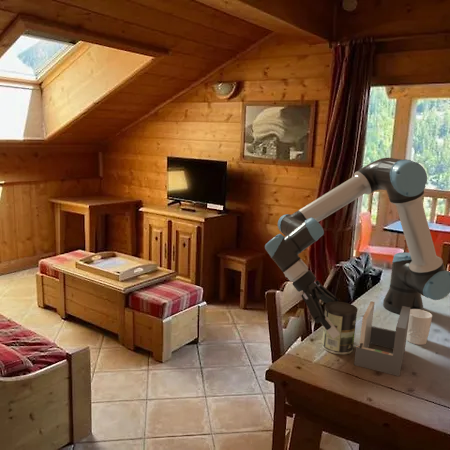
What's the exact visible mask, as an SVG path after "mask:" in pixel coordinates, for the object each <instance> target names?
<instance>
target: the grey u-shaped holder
mask: <svg viewBox="0 0 450 450" xmlns="http://www.w3.org/2000/svg"><path fill="white" fill-rule="evenodd" d="M409 316H410V307H405V306H402V309H401V312H400V314H399V316H398V320H397V323H396V327H395V330H391V329H387V328H382V327H378V326H373V325H372V329H371V338H370V343H369V345H373V346H379V347H382V348H383V347H384V348H386V349H387V348H389V349H392V350H393V351H392V353H391V352H388V351H384V350H380V349H374V348H370V347H368V348H366V347H362V348H359V346H360V345H356V347H355V354H354V366H357V367H361V368H364V369H369V370H372V371H377V372H381V373H383V374H389V375H393V376H395V377H396V376H397V377H400V376H401V375H400V374H401V370H402V366H403V361H404V355H405V352H406V344H407V340H406V338H407V331H408V323H409Z"/></svg>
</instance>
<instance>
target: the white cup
mask: <svg viewBox="0 0 450 450" xmlns="http://www.w3.org/2000/svg"><path fill="white" fill-rule="evenodd" d="M432 319H433V313H430V311H426V310H424V309H423V310H420V309H410V316H409V323H408V331H407V338H406V342H408V343H411V344H413V345H419V346H423V345H426V344H427V342H428V338H429V335H430V329H431V326H432Z"/></svg>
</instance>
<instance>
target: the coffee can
mask: <svg viewBox="0 0 450 450" xmlns="http://www.w3.org/2000/svg"><path fill="white" fill-rule="evenodd" d="M324 315H325V318H326V317H328V319H329V320H330V321H331V322H332V324H333V325H334V326H335V328H336V329H337V330H338V331H339V333H340V335H338V336H337V337H335V338H334V339H333V338H332V337H331V336H330V334H329V333H328V332H327V330H326V329H325V328H324V327H323V326H322V327H323V328H322V340H321V347H322V349H324V351H327V352H329V353H331V354H334V355H348V354H351V353H353V352H354V342H355V332H356V326H357V325H356V324H357V315H358V307H357V306H356V305H354V304H352V303H349V302H345V301H338V302H336V301H335V302H328V303H325V304H324Z"/></svg>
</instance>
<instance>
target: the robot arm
mask: <svg viewBox="0 0 450 450" xmlns="http://www.w3.org/2000/svg"><path fill="white" fill-rule="evenodd" d="M427 184H428V174H427V171H426V169H425V168H424V166H423V165H422V164H420V163H419V162H416V161H413V160H411V159H400V158H394V157H383V158H379V159H376V160H374V161H372V162H370V163H368V164H367V165H365V166H363V167H362V168H359V169H358V170H357V171H355V172H354V174H353V176H352V177H350V178H349V179H347V180H346V181H344V182H342V183H341V184H339V185H336V187H334V188H333V189H331V190H329V191H328V192H326V193H324V194H323V195H321V196H319V197H318V198H316V199H314V200H313V201H312V202H310V203H308V204H307V205H304V206H303V207H302V208H300V209H298V210H297V211H295V212H293V213H292V214H290V213H287V214H283V215H281V216H280V217H279V219H278V221H277V229H278V230H279V232H280V233H278V234H276V235H275V236H274V237H273V238H271V239H270V240H269V241H268V242H267V243H265V245H264V249H265V251H266V252H267V254H268V255H269V257H270V258H271V259H272V261H274V263H275V264H276V266H278V268H279V269H280V270H281V272H283V274H284V277H285V278H287V279H288V281H290V282H292V286H293V287H294V288H295V290H296V291H297V293H298V292H301V291H302V292H303V294H301V295H300V296H301V299H302V300H303V301H304V303H305V304H306V307H307V309H308V310H309V313H310V315H311V316H312V317H311V318H312V319H313V320H314V322H315V323H316V324H319V323H320V324H321V325H322V327H324V328H325V329H326V330H327V332H328V333H329V334H330V336H331V337H332V338H333V339H334V338H335V337H337V336H338V335H340V333H339V331H338V330H337V329H336V328H335V326H334V325H333V324H332V322H331V321H330V320H329V319H328V317H326V318H325V311H324V310H323V307H322V305H321V302H320V300H321V301H322V302H323V303H325V304H326V303H328V302H335V301H336V302H339V299H338V298H337V297H336V296H335V294H333V293H332V292H330V290H328V289H327V288H326V287H325V286H324V285H322V284H321V282H320V281H319V280H316V279H317V277H316V275H315V274H314V273H313V272H312V270H309V267H308V265H307V264H306V263H305V262H304V260H303V259H302V258H301V257H300V254H302V253H303V251H305V250H306V249H308V248H309V247H310V246H311V245H313V244H315V243H316V242H317V241H318V240H319V239H320V238H321V237H323V236H324V234H325V231H324V228H323V226H322V225H321V223H320V221H323V220H324V219H326V218H327V217H329V216H331V215H332V214H334V213H336V212H337V211H339V210H340V209H342V208H344V207H345V206H347V205H349V204H350V203H352V202H354V201H355V200H356V199H359V198H361V197H362V196H363V195H364V194H365V195H370V194H372V193H374V192H376V191H379V190H383V191H386V194H387V197H388V199H389V200H388V201H389V203H390V204H392V205H394V206H395V207H396V208H395V209H396V211H397V215H398V218H399V221H400V225H401V228H402V232H403V236H404V239H405V242H406V246H407V249H408V252H396V253H395V254H394V255H393V259H392V262H391V263H392V264H391V265H392V266H391V275H390V283H389V288H388V290H387V292H386V295H385V296H384V298H383V300H382V301H383V303H382V306H383V307H384V309H386V310H387V311H389V312H392V313H395V314H397V315H398V314H399V315H400V312H401V309H402V306H405V307H410V309H420V310H424V303H423V299H422V296H424V297H425V298H427V299H430V300H433V301H439V300H442V299H445V298H446V297H447V296H448V295H450V271H449V270H446V268H445V265H444V260H443V258H442V257H440V256H438V255H437V253H436V248H435V244H434V241H433V237H432V233H431V230H430V227H429V226H430V225H429V223H428V219H427V216H426V211H425V208H424V204H423V200H422V198H423V197H424V195H425V189H426V185H427Z"/></svg>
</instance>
